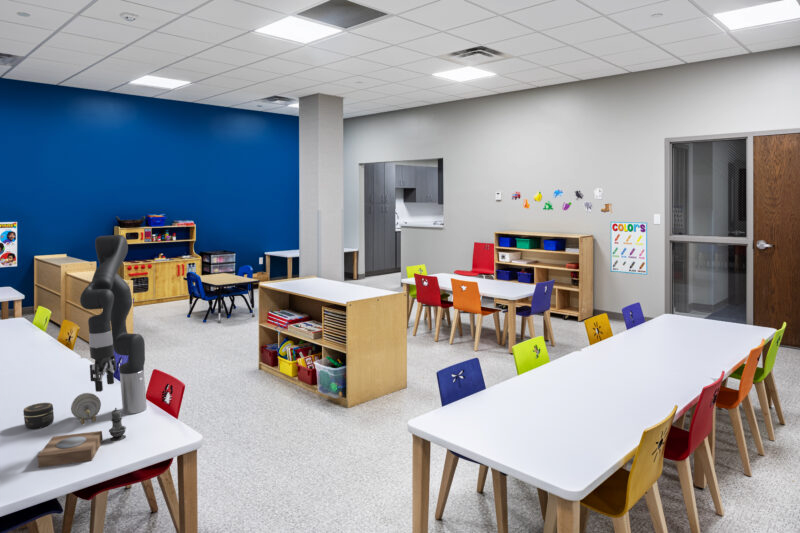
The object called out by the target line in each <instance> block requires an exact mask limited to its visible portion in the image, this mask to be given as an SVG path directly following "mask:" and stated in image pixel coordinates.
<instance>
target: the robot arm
mask: <svg viewBox="0 0 800 533" xmlns="http://www.w3.org/2000/svg"><path fill="white" fill-rule="evenodd" d="M94 244H95V245H94V247H95V252H96V256H97V260H98V263H99V266H98V267H97V268H96V269H95V271H94V274H93V276H92V280H91V282H90V283H89V284H88V285H87V286H86V288H84V289H83V291H82V293H81V294H80V296H79V297H80V298H79V303H80V306H81V307H82V308H83V309H85V310H88V311H89V310H102V311H101V313H100V314H96V315H92V316H90V317H89V318H88V320H87V322H88V323H87V324H88V332H89V333H88V334H89V335H88V342H89V345H88V346H89V354H90V359H93V360H94V363H93V364H90V365H89V376H90V382H94V385H95V386H94V388H95V392H96V393H97V392H100V393H101V392H102V391H104V386H103V376H106V383H107V385H113V384H114V383H115V379H114V378H115V376H114V374H115V372H116V371H117V361H116V355H118V356H127V357H128V360H127V361H126V362H124V363H122V364H120V365H119V379H120V380H119V381H120V393H121V405H122V412H123V414H127V415H128V414H129V415H130V414H131V415H132V414H137V413H142V412H144V411H145V410H147V407H148V406H147V395H146V392H147V391H146V381H145V380H146V379H145V361H146V346H145V338H144V337H143V335H142V334H139V333H128V331H127V323H126V322H127V318H128V315H129V313H130V311H131V309H132V306H133V297H132V292H131V288H130V285H129V284H128V283H127V282H126V280H124V279H123V277H122V276H121V275H119V274H118V270H119V269H120V267H121V266H122V264H123V262H124V260H125V258H126V256H127V254H128V251H129V246H128V245H129V243H128V240H127V238H126V236H124V235H122V234H114V235H113V234H111V235H100V236H97V237H96V238H95V241H94ZM115 354H116V355H115Z"/></svg>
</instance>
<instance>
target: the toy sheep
mask: <svg viewBox="0 0 800 533" xmlns="http://www.w3.org/2000/svg"><path fill="white" fill-rule="evenodd" d="M101 406H102V402H101V400H100V398H99V397H98V396H97V395H96V394H94V393H91V392H84V393H80V394H79V395H77V396H76V397H75V398H74V400H73V401H72V403H71V407H70V411H71V414H72V415H73V416H74V417H75V418H76V419H77V420H80V424H81V425H85V424H86V423H85V422H86V421H89V420H91V419H92V422H93V423H96V421H97V415H98V414H99V413H100V411H101Z"/></svg>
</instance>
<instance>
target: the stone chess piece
mask: <svg viewBox="0 0 800 533" xmlns="http://www.w3.org/2000/svg"><path fill="white" fill-rule="evenodd" d="M121 415H122V413H121V410H120V409H118V408H117V407H115V408H114V410H112V411H111V417H112V418H111V420H110V422H112V425H111V426H112V427H111V428H109V429H108V432H109V435H110V436H111V437H110V439H109V441H112V442H120V441H122V440H125V439H126V437H127V435H126V433H125V432H126V429H127V426H125V425H123V424H122V423H123V422H122V420H123V418H122V416H121Z"/></svg>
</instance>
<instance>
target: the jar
mask: <svg viewBox="0 0 800 533" xmlns="http://www.w3.org/2000/svg"><path fill="white" fill-rule="evenodd" d="M54 415H55V414H54V405H53V403H51V402H40V403H39V402H38V403H33V404H31V405H28V406H26V407H24V408H23V415H22V416H23V420H24V426H25V428H27V429H28V430H39V429H43V428H47V427H49V426H51V425H52V424H53V423H54V419H55V416H54Z"/></svg>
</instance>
